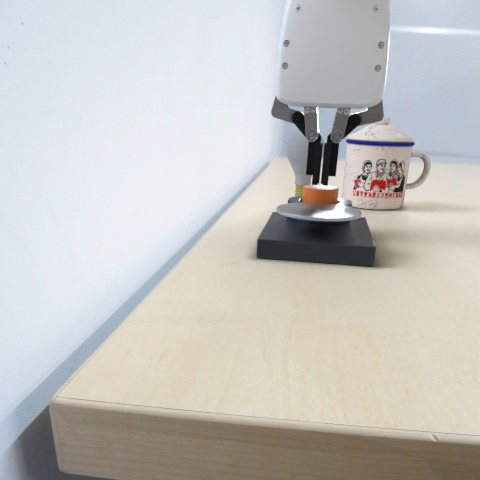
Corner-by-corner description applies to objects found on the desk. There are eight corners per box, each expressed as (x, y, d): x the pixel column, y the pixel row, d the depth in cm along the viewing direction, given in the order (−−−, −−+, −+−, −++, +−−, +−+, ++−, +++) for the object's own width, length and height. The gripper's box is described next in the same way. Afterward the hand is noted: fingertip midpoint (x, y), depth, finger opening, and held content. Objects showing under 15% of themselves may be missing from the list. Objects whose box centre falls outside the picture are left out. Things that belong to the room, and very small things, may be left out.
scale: (273, 224, 56) (274, 193, 55) (362, 230, 55) (366, 198, 53) (256, 258, 43) (258, 218, 42) (373, 266, 42) (379, 225, 40)
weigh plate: (336, 204, 49) (336, 201, 49) (378, 219, 43) (378, 216, 42) (264, 206, 47) (264, 203, 47) (296, 223, 40) (297, 219, 40)
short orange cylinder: (302, 200, 53) (304, 183, 53) (336, 202, 53) (338, 185, 52) (301, 206, 50) (302, 188, 49) (337, 208, 49) (339, 190, 49)
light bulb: (300, 196, 76) (306, 126, 72) (328, 201, 72) (335, 128, 68) (275, 199, 73) (279, 126, 69) (302, 204, 69) (307, 127, 65)
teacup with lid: (346, 209, 66) (357, 115, 62) (333, 198, 75) (342, 115, 70) (435, 212, 67) (452, 119, 62) (412, 200, 75) (425, 118, 71)
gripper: (421, -21, 46) (390, 183, 53) (261, -21, 48) (252, 175, 55) (438, -45, 39) (400, 193, 46) (250, -44, 41) (241, 184, 48)
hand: (319, 183), depth 50 cm, fingers closed
